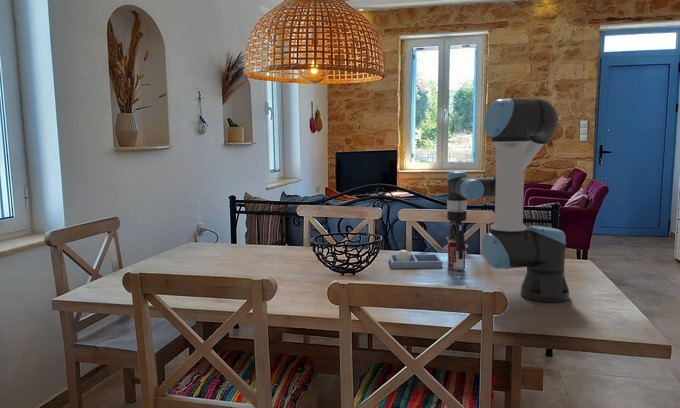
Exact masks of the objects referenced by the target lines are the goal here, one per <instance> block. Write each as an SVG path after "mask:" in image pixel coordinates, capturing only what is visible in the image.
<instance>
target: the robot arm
mask: <svg viewBox="0 0 680 408" xmlns="http://www.w3.org/2000/svg"><path fill="white" fill-rule="evenodd" d="M484 115H485V116H484V121H483V122H484V123H483V127H484V130H485V134H486V135H487V136H488V137H489V138H491V144H492V145H493V146H494V147H495V151H496V153H495V175H494V177H474V178H468V173H467V172H466V171H460V170H459V171H458V170H457V171H449V172H448V173H447V181H446V183H447V186H446V187H447V199H446V200H447V202H446V209H447V210H448V211H447V213H446V218H447V220H448V221H449V224H450V226H449V232H448V233H449V234H448V237H449V242H450V240H451V239H456V245H457V249H456V250H455V251H456V267H464V250H465V251H466V248H465V244H466V242H465V231H464V229H465V226H464V224H462V222H465V221H467V218H468V217H467V213H468V211H466V210H467V205H468V204H469V202H468V201H467V200H473V201H475V200H477V199H478V200H479V199H487V198H495V199H494V222H493V223H492V224H491V225H490V226H489V232H487V233H485V234H484V235H483V238H482V239H481V245H482V247H481V249H482V254H483V256H484V258H485V259H486V260H485V261H486V262H487V264H488V265H489V266H490V267H492V268H494V269H496V270H501V269H502V270H509V269H517V268H518V269H519V268H526V273H525V276H524V277H523V281H522V282H521V283H522V284H521V286H520V296H521V297H522V298H525V299H527V300H529V301H530V300H531V301H535V302H539V303H540V302H542V303H563V302H566V301H568V300H569V299H570V289H569V286H568V283H567V279H566V276H565V262H566V261H565V260H566V245H567V242H566V233H565V232H564V231H563V230H561V229H558V228H554V227H548V226H542V225H529V226H528V227H527V225H525V223H524V192H525V191H524V189H525V187H524V185H525V170H526V169H527V168H528V166H529V165H530V163H531V162H532V160H534V158H535V157H536V156H537V154H538V152H539V151H541V149H542V147H543V146H544V145H547V144H548V143H550V142H551V140H552V139H553V137H554V136H555V134H556V132H557V130H558V127H559V115H558V111H557V110H556V108H555V107H554V106H553V104H552V103H551V102H549V101H548V100H545V99H543V98H509V97H508V98H501V99H496V100H494V101H493V102H491V104H490V105H489V107H488V108H487V109H486V113H485V114H484ZM449 242H448V243H449Z"/></svg>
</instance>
